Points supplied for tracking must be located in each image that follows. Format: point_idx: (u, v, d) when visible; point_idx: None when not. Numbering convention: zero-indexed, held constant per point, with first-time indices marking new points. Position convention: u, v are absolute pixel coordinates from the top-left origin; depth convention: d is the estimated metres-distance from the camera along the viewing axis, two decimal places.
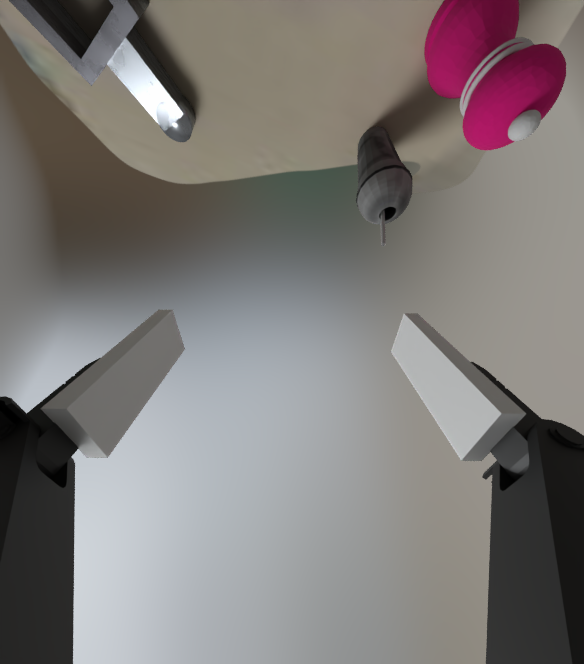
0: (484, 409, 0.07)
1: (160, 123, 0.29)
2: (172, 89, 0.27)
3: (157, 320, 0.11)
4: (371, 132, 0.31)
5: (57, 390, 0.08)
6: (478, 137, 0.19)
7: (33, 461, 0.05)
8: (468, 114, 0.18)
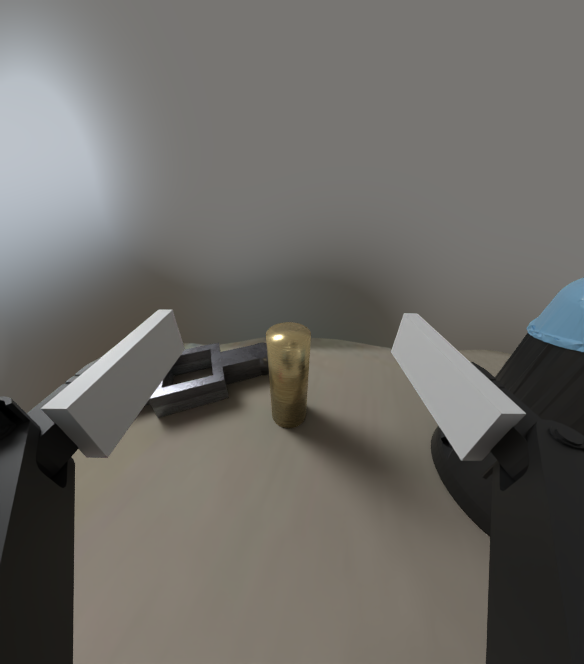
0: (484, 409, 0.07)
1: None
2: None
3: (157, 320, 0.11)
4: None
5: (57, 390, 0.08)
6: None
7: (33, 461, 0.05)
8: None
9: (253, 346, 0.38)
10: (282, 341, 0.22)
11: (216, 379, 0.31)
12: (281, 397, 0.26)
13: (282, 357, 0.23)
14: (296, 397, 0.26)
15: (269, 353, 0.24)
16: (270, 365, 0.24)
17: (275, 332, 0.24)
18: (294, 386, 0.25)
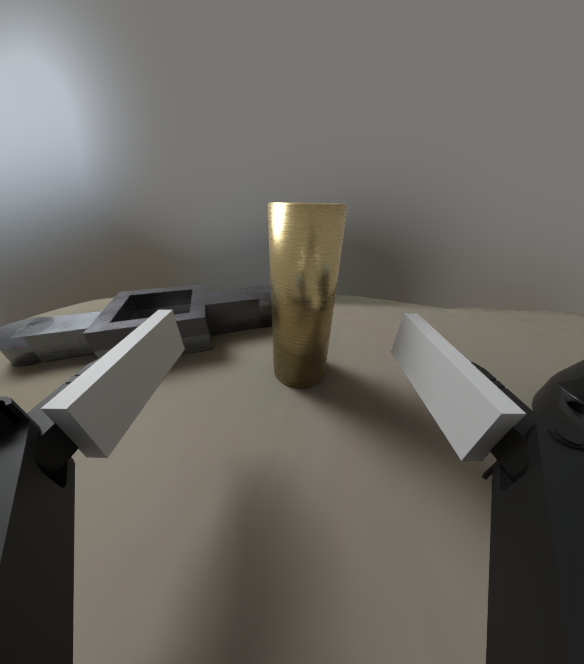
0: (484, 409, 0.07)
1: (44, 318, 0.22)
2: (46, 347, 0.21)
3: (157, 320, 0.11)
4: None
5: (57, 390, 0.08)
6: None
7: (33, 461, 0.05)
8: None
9: (251, 288, 0.28)
10: (296, 203, 0.12)
11: (193, 316, 0.21)
12: (291, 328, 0.16)
13: (295, 234, 0.12)
14: (315, 329, 0.16)
15: (272, 236, 0.13)
16: (274, 264, 0.14)
17: None
18: (313, 305, 0.15)
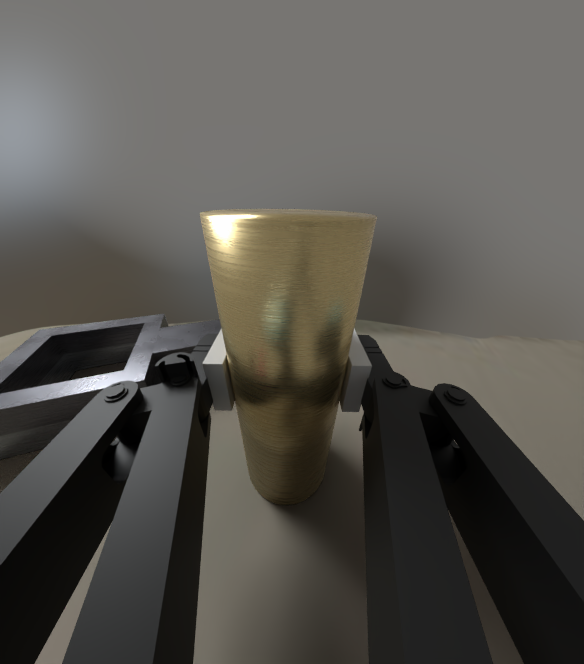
0: (348, 365, 0.09)
1: None
2: None
3: None
4: None
5: None
6: None
7: (197, 411, 0.07)
8: None
9: None
10: (259, 216, 0.05)
11: (126, 379, 0.14)
12: (264, 439, 0.09)
13: (259, 290, 0.05)
14: (309, 439, 0.09)
15: (215, 284, 0.06)
16: (224, 335, 0.07)
17: (241, 211, 0.07)
18: (305, 409, 0.07)
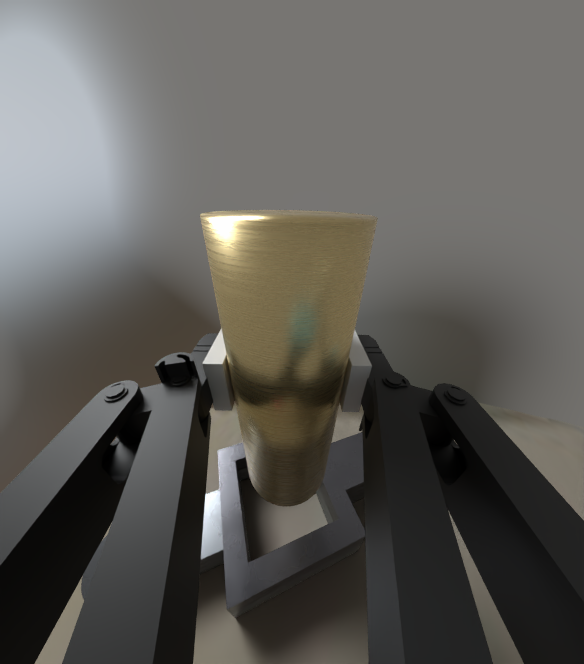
0: (348, 365, 0.09)
1: None
2: None
3: None
4: None
5: None
6: None
7: (197, 411, 0.07)
8: None
9: None
10: (260, 217, 0.05)
11: (350, 533, 0.16)
12: (265, 441, 0.09)
13: (259, 292, 0.05)
14: (310, 441, 0.09)
15: (215, 286, 0.06)
16: (225, 337, 0.07)
17: (242, 212, 0.07)
18: (305, 411, 0.07)
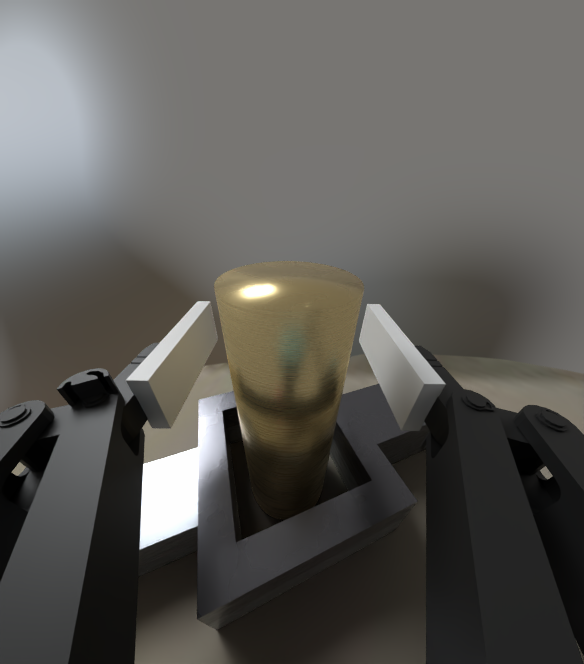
0: (414, 382, 0.08)
1: None
2: None
3: (199, 310, 0.12)
4: None
5: (125, 369, 0.09)
6: None
7: (119, 429, 0.06)
8: None
9: None
10: (265, 295, 0.06)
11: (393, 500, 0.10)
12: (268, 466, 0.10)
13: (265, 356, 0.06)
14: (308, 466, 0.10)
15: (226, 342, 0.07)
16: (233, 380, 0.08)
17: (248, 276, 0.08)
18: (303, 443, 0.09)
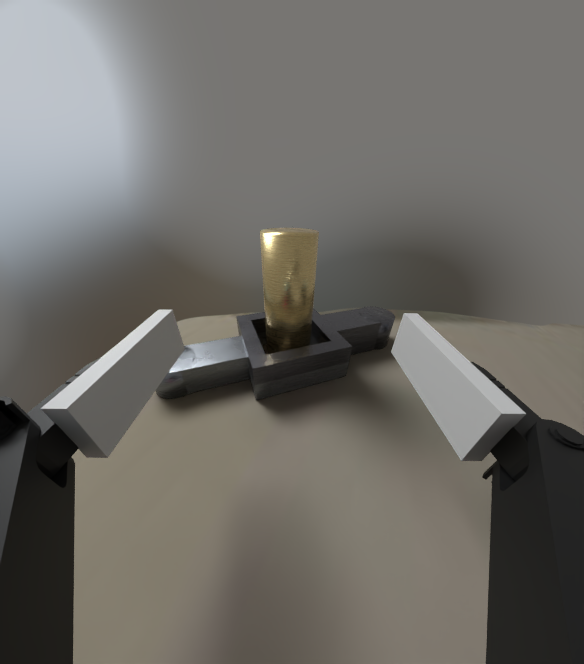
0: (484, 409, 0.07)
1: None
2: (196, 379, 0.20)
3: (157, 320, 0.11)
4: None
5: (57, 390, 0.08)
6: None
7: (33, 461, 0.05)
8: None
9: (361, 310, 0.28)
10: (280, 233, 0.17)
11: (340, 345, 0.21)
12: (279, 324, 0.20)
13: (280, 256, 0.17)
14: (298, 325, 0.20)
15: (264, 256, 0.18)
16: (265, 276, 0.19)
17: (272, 230, 0.18)
18: (295, 306, 0.19)
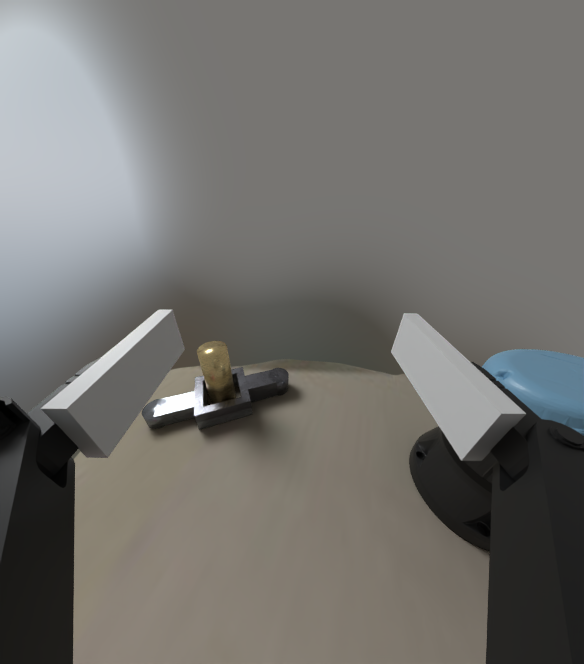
0: (484, 409, 0.07)
1: (161, 399, 0.41)
2: (168, 418, 0.39)
3: (157, 320, 0.11)
4: None
5: (57, 390, 0.08)
6: None
7: (33, 461, 0.05)
8: None
9: (271, 371, 0.47)
10: (205, 354, 0.36)
11: (244, 400, 0.40)
12: (211, 390, 0.40)
13: (205, 364, 0.36)
14: (221, 390, 0.40)
15: None
16: None
17: (204, 348, 0.37)
18: (217, 383, 0.38)
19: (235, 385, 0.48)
